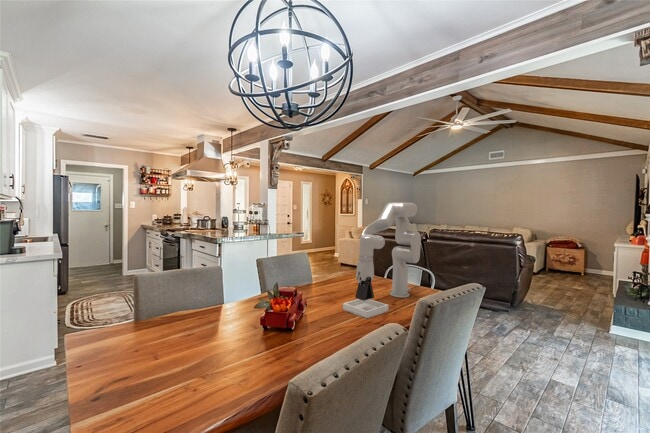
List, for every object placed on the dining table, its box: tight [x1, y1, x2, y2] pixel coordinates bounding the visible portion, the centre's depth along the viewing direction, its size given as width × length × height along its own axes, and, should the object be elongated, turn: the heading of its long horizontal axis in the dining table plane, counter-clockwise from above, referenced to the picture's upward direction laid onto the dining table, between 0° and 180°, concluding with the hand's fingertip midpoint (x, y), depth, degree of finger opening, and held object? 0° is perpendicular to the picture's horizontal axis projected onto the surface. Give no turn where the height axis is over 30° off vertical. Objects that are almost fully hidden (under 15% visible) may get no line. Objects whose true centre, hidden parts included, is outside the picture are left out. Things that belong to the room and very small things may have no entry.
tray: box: [342, 298, 390, 320], centre depth 164 cm, size 18×17×4 cm
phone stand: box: [354, 277, 375, 301], centre depth 163 cm, size 9×6×12 cm, turn 131°
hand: (364, 292), depth 163 cm, fingers closed on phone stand, 1 cm apart
